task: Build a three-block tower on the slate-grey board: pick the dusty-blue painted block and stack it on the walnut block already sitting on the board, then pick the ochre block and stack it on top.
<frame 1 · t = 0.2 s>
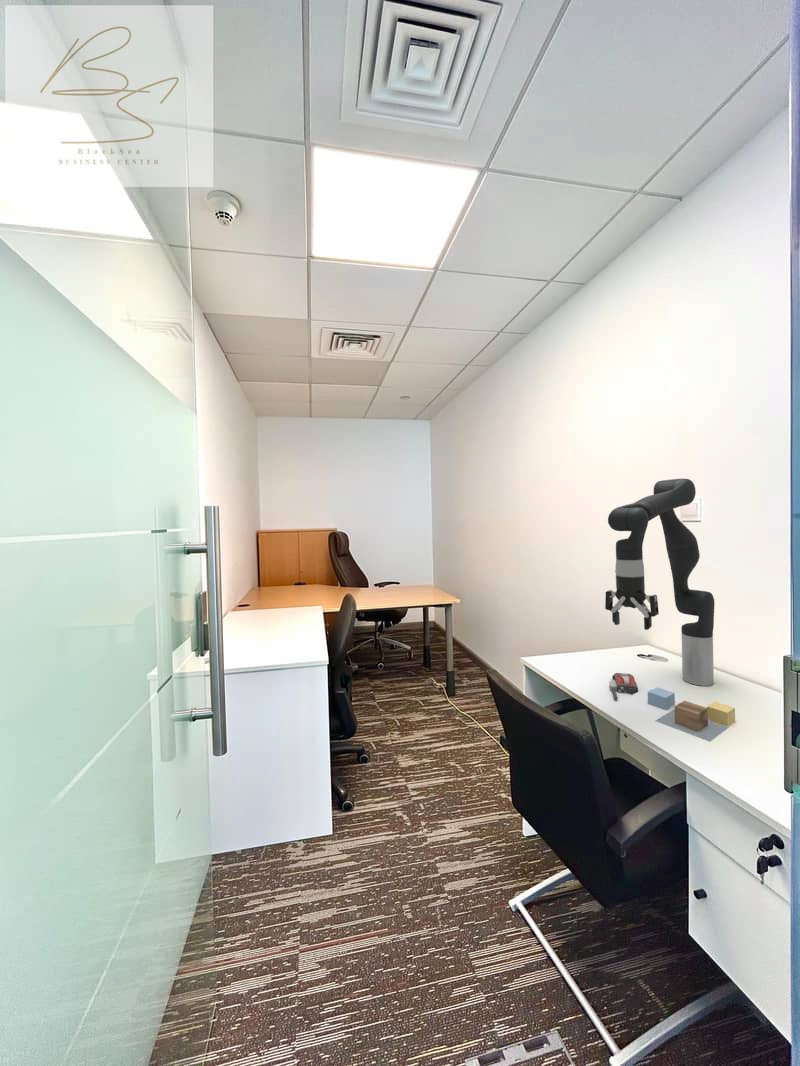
hand: (631, 626, 125), 28 cm above the table, fingers open, 8 cm apart
ochre brick: (721, 723, 121), on the table
blue brick: (661, 707, 132), on the table
slate board: (691, 727, 119), on the table
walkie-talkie: (623, 691, 145), on the table
walnut brick: (691, 723, 119), point 1 cm above the table, touching slate board
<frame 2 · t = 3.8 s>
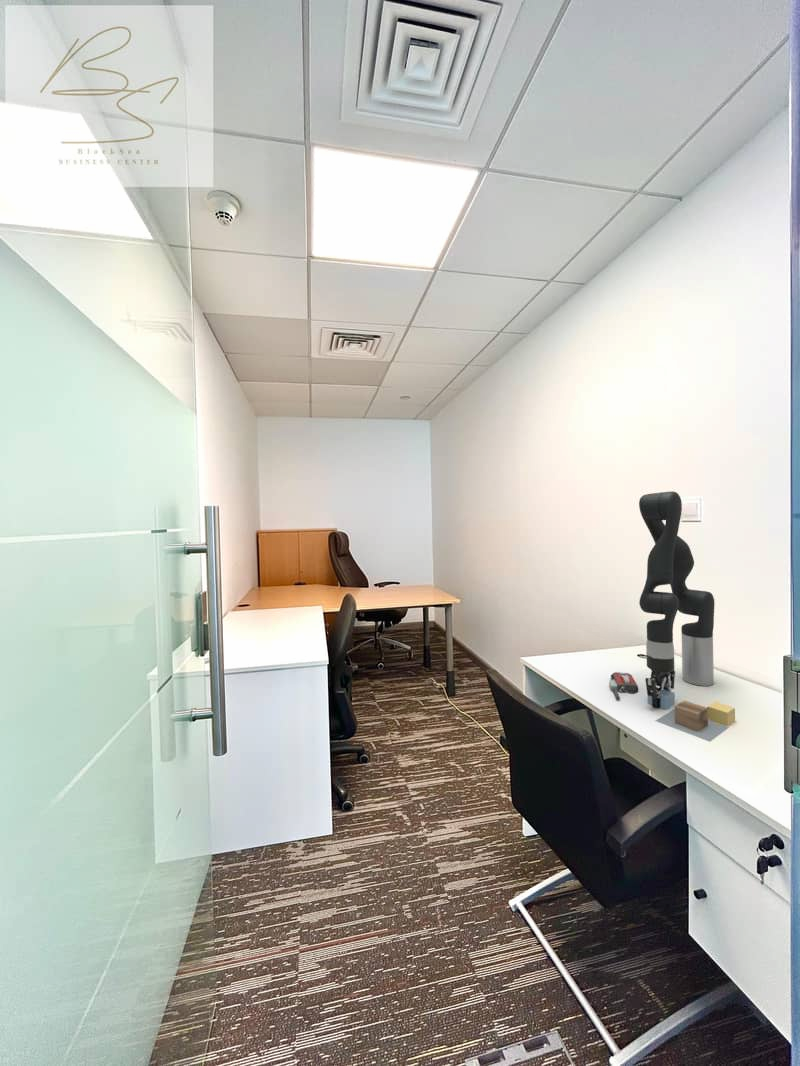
hand: (661, 705, 132), 1 cm above the table, fingers closed on blue brick, 5 cm apart
blue brick: (661, 707, 132), on the table, touching gripper
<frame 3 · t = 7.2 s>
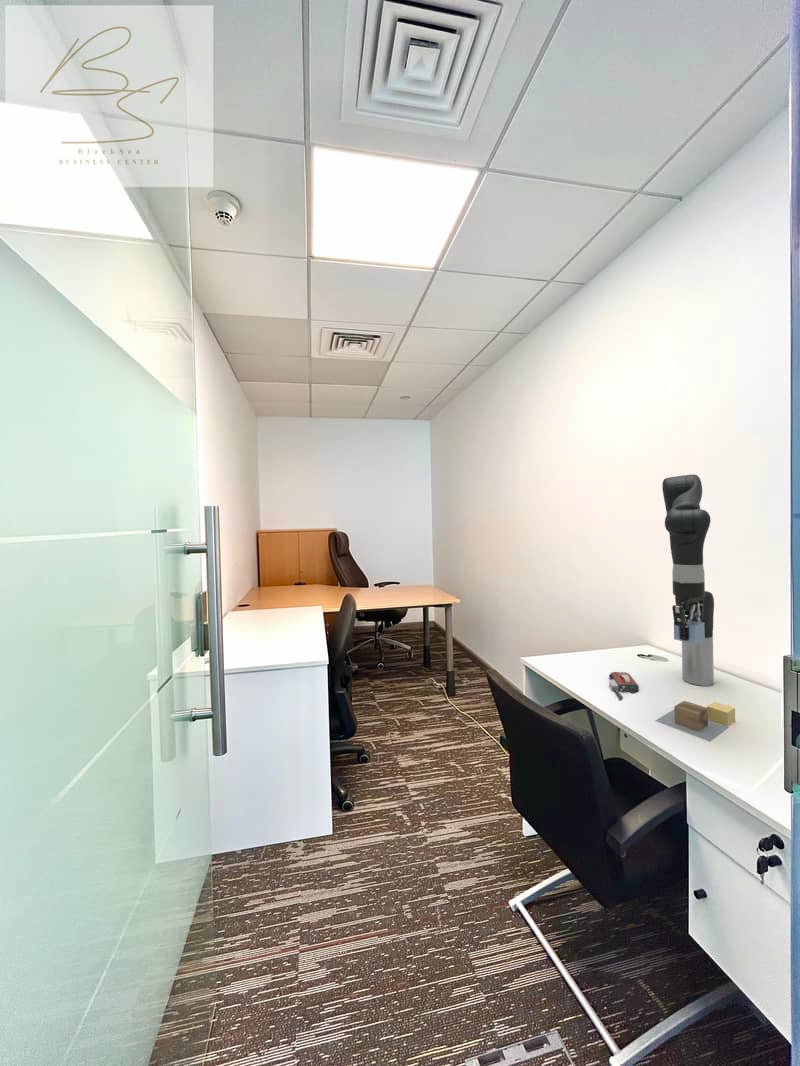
hand: (689, 637, 118), 26 cm above the table, fingers closed on blue brick, 5 cm apart
blue brick: (689, 639, 118), point 26 cm above the table, touching gripper
when the fingers open (8 cm above the table, at t = 10.4 s): blue brick drops 1 cm, resting on walnut brick.
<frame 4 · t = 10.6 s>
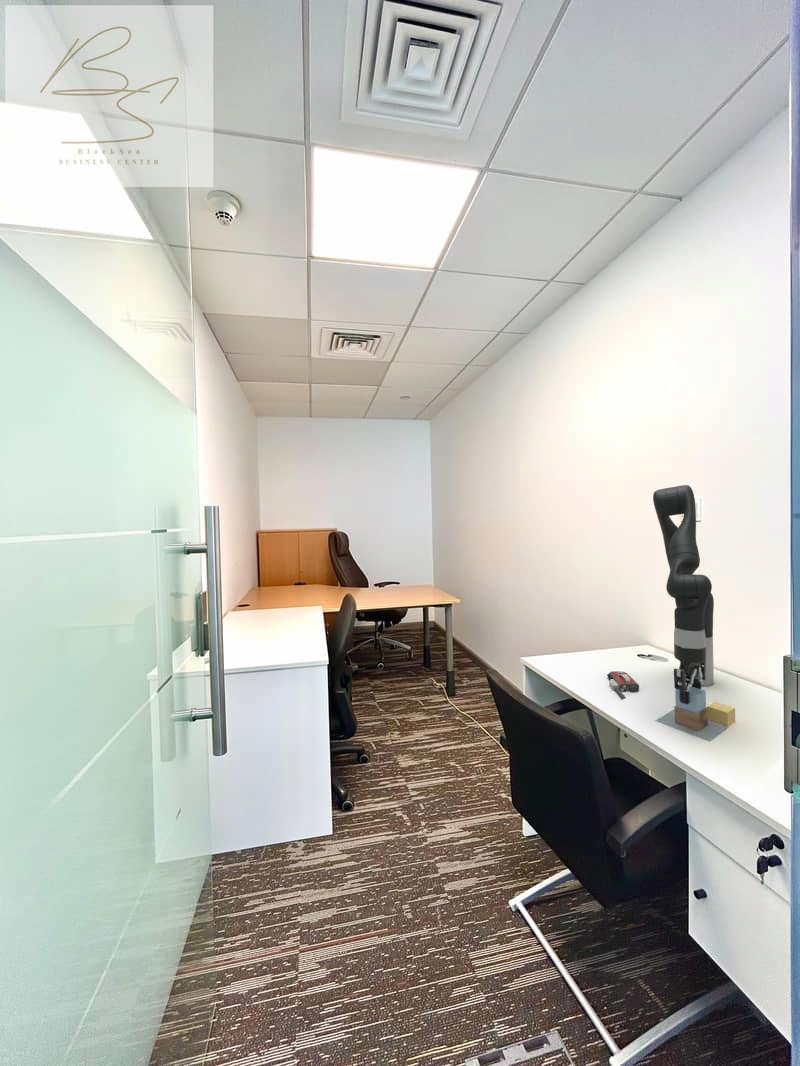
hand: (690, 699, 119), 8 cm above the table, fingers open, 7 cm apart
blue brick: (690, 706, 119), point 6 cm above the table, touching walnut brick
walnut brick: (691, 723, 119), point 1 cm above the table, touching blue brick, slate board
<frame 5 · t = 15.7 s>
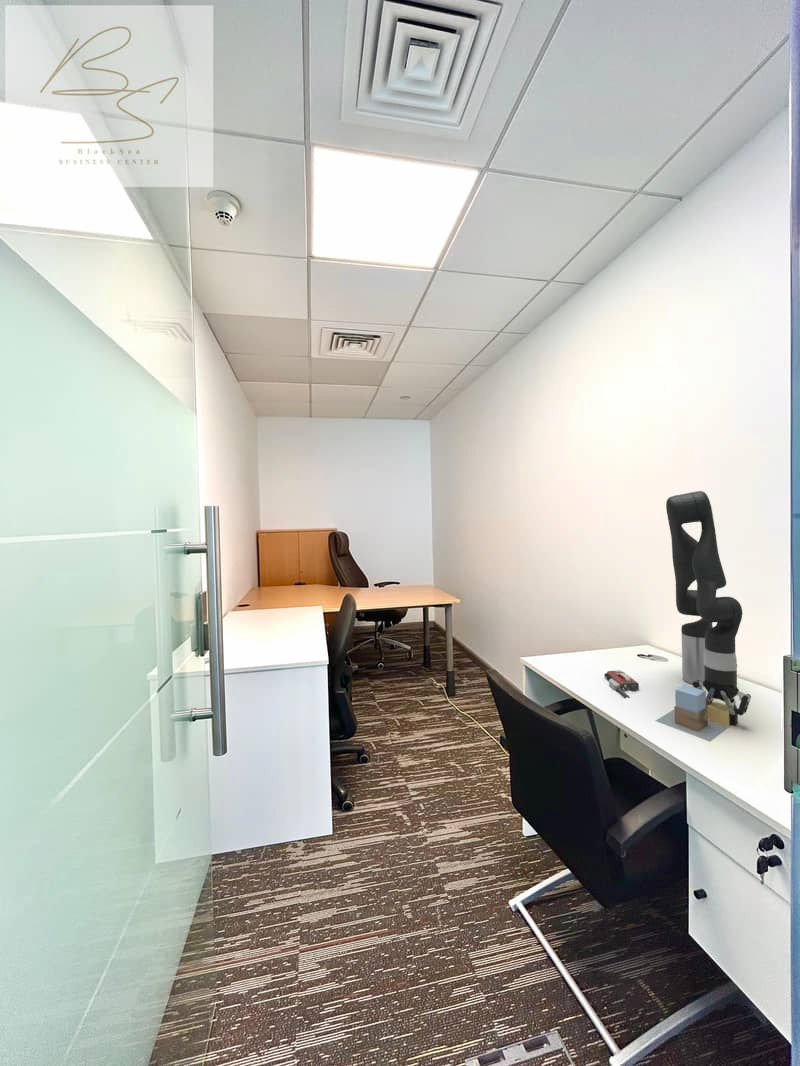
hand: (721, 721, 121), 0 cm above the table, fingers closed on ochre brick, 5 cm apart
ochre brick: (720, 723, 121), on the table, touching gripper
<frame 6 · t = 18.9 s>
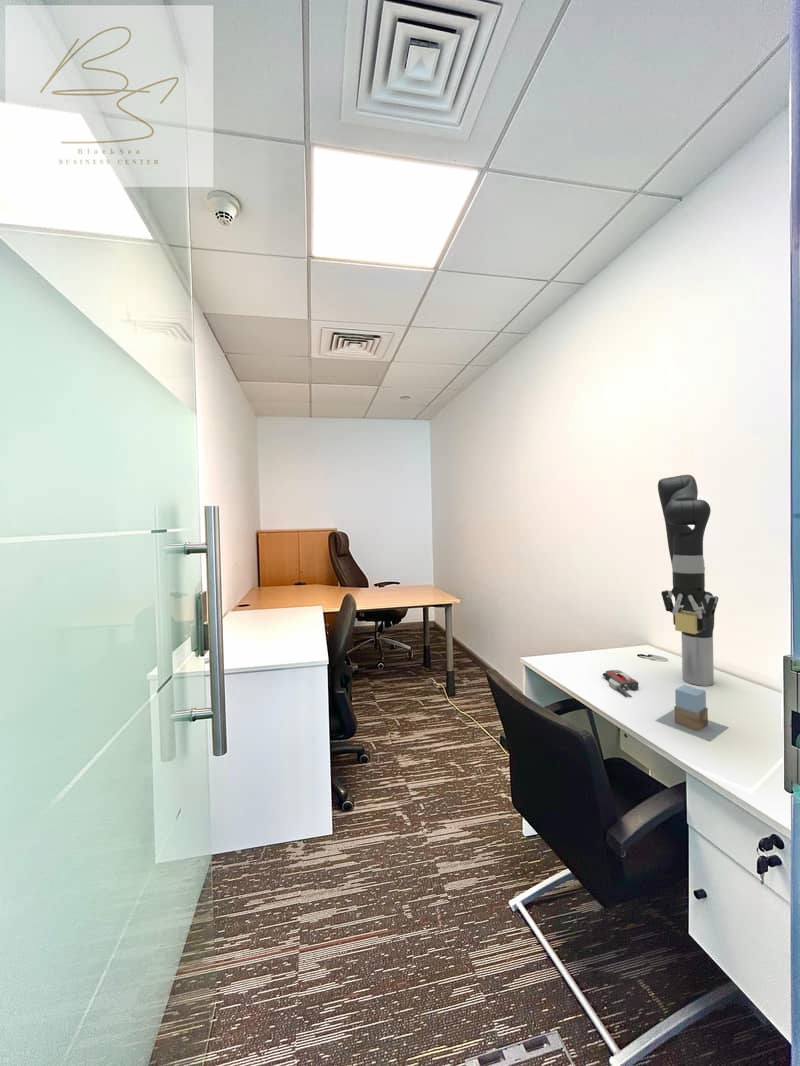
hand: (689, 628, 118), 29 cm above the table, fingers closed on ochre brick, 5 cm apart
ochre brick: (689, 630, 118), point 29 cm above the table, touching gripper
when the fingers open (13 cm above the table, at t = 22.3 s): ochre brick drops 1 cm, resting on blue brick.
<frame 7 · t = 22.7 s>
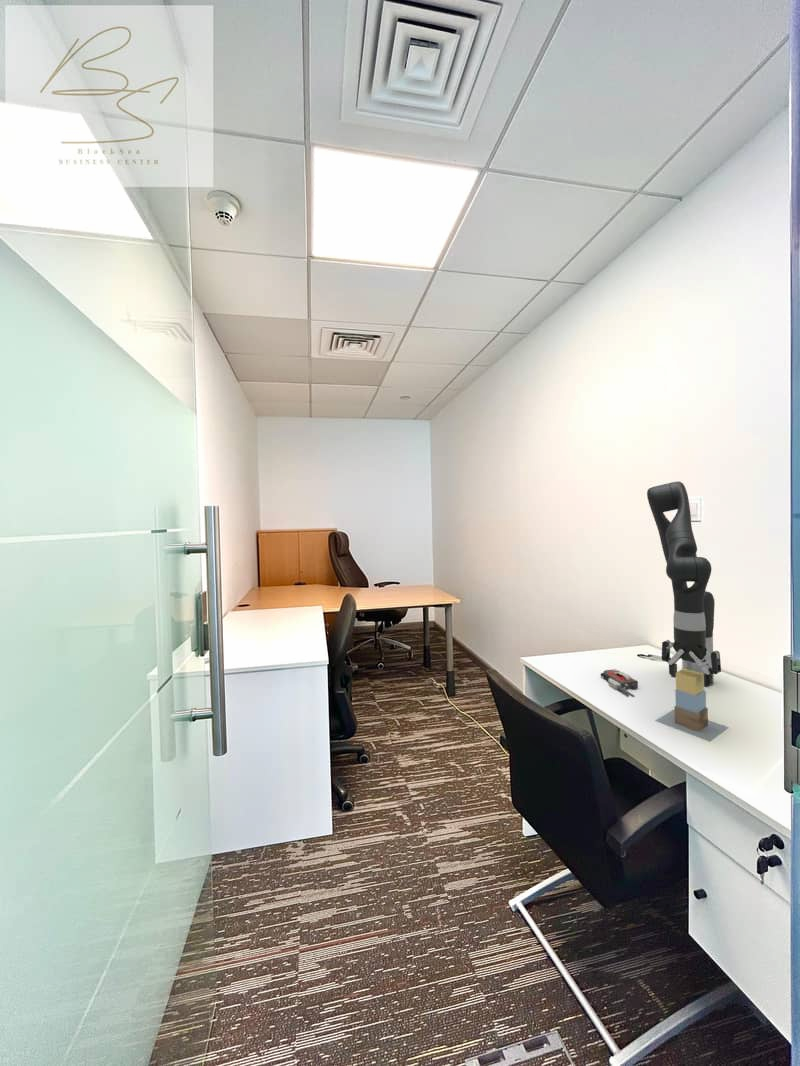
hand: (690, 681, 119), 14 cm above the table, fingers open, 8 cm apart
ochre brick: (690, 690, 119), point 11 cm above the table, touching blue brick
blue brick: (690, 706, 119), point 6 cm above the table, touching ochre brick, walnut brick
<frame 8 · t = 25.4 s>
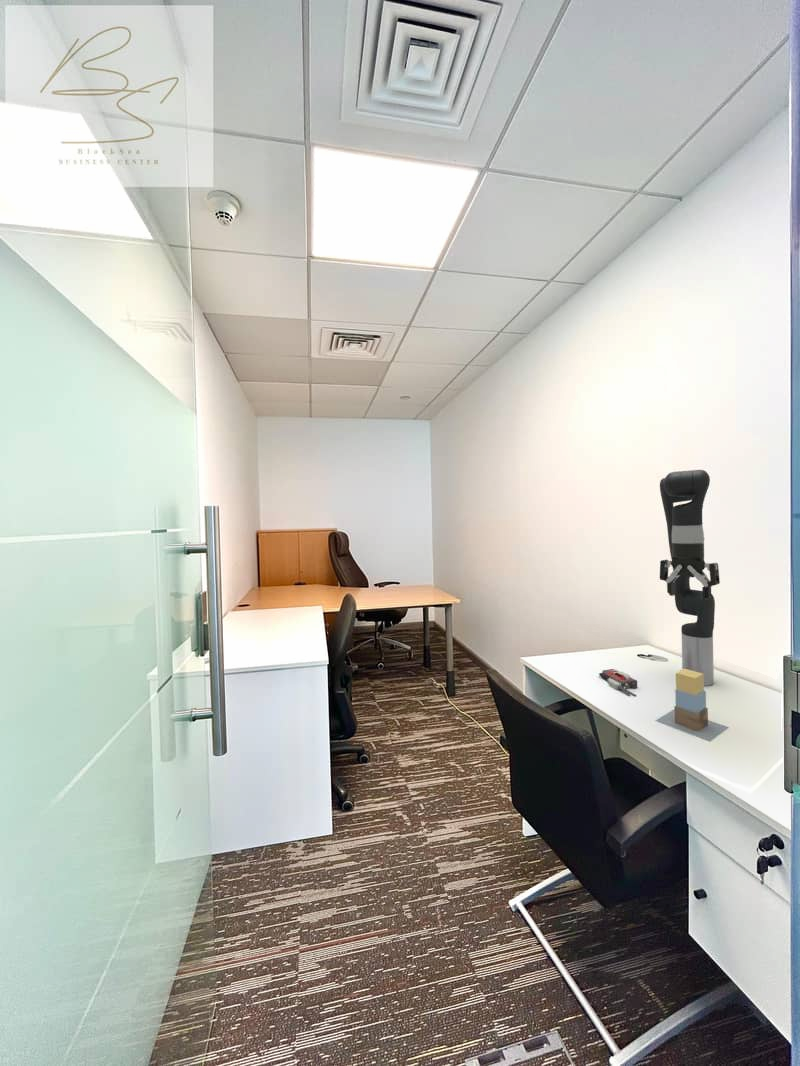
hand: (688, 597, 117), 38 cm above the table, fingers open, 8 cm apart
at the end: blue brick 0.1 cm off-centre on the walnut brick, point 5.0 cm above the walnut brick's base; ochre brick 0.1 cm off-centre on the walnut brick, point 10.0 cm above the walnut brick's base; ochre brick tilted 0° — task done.
